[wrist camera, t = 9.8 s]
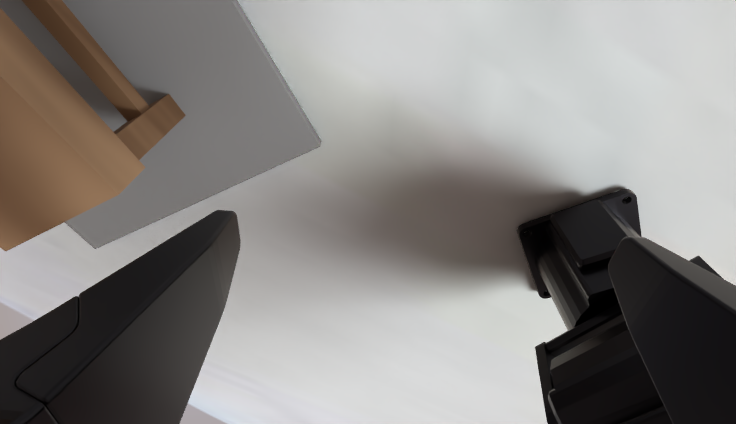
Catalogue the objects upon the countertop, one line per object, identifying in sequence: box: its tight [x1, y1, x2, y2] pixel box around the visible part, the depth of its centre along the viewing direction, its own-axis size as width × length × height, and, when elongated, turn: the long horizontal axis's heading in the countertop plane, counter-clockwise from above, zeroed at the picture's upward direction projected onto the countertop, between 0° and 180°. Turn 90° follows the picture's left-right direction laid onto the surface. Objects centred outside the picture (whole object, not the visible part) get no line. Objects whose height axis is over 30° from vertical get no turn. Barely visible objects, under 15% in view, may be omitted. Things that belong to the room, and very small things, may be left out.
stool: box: [0, 0, 186, 251], centre depth 15 cm, size 6×10×7 cm, turn 26°
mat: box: [0, 0, 321, 249], centre depth 18 cm, size 18×16×1 cm
